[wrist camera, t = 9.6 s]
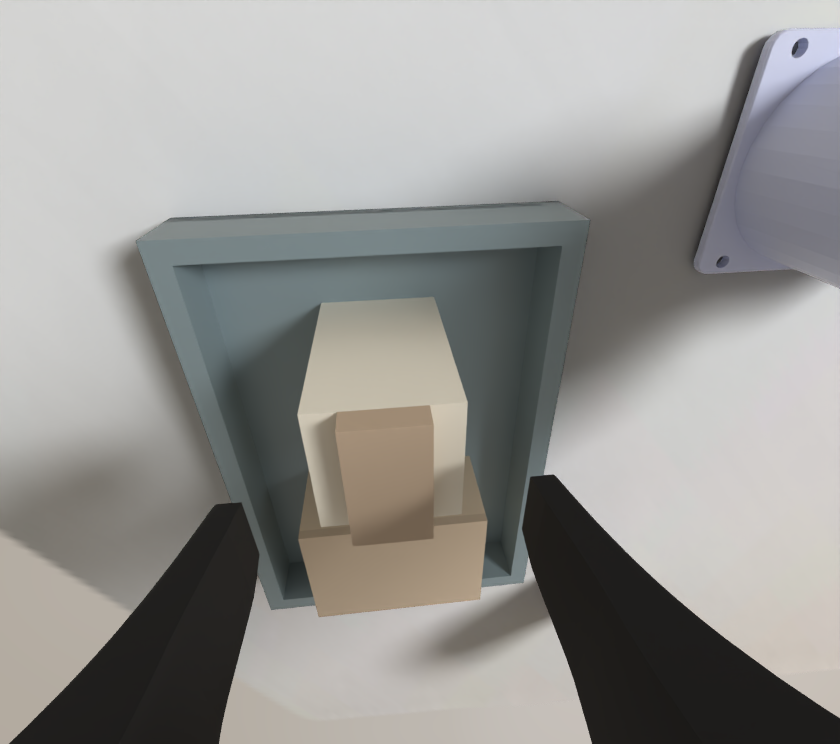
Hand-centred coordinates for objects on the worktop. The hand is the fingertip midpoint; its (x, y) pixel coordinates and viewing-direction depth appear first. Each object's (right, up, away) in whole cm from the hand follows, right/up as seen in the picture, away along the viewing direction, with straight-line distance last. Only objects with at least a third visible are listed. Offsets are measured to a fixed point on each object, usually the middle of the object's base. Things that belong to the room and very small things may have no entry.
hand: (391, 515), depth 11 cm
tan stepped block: (-1, -3, +12) cm, 13 cm away
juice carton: (-1, +5, +7) cm, 9 cm away
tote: (-1, +1, +10) cm, 10 cm away
